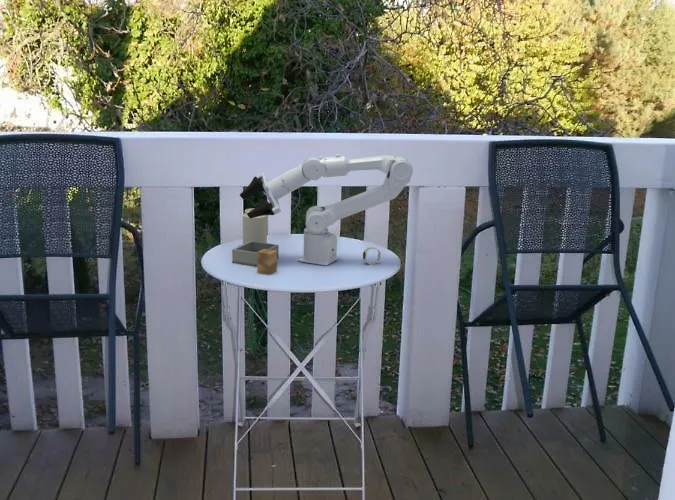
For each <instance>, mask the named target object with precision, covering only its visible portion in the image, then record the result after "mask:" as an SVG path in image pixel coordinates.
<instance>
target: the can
mask: <svg viewBox="0 0 675 500" xmlns="http://www.w3.org/2000/svg"><path fill="white" fill-rule="evenodd" d="M255 208H256V207H255ZM255 208H246V209H245V210H244V213H243V214H242V245H244V244H246V243H248V242H250V241H256V242H263V243H268V215H264V216H258V217H254V218H251V219H250V218H249V217H248V215H247V213H248V212H250V211H251V210H253V209H255Z"/></svg>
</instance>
